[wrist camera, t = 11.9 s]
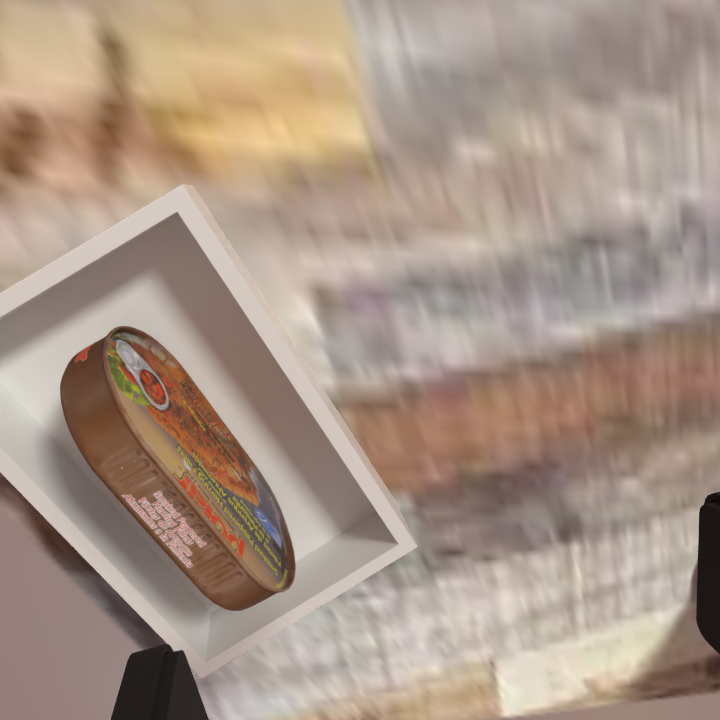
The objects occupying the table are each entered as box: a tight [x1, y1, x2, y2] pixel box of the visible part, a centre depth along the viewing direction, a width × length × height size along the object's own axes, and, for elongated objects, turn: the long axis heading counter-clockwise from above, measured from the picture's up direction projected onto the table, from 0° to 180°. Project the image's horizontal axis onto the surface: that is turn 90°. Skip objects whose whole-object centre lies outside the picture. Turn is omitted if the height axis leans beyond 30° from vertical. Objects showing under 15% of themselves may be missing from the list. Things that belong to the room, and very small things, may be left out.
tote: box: [0, 184, 417, 679], centre depth 28 cm, size 22×14×4 cm, turn 30°
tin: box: [60, 326, 296, 611], centre depth 26 cm, size 15×3×8 cm, turn 29°
